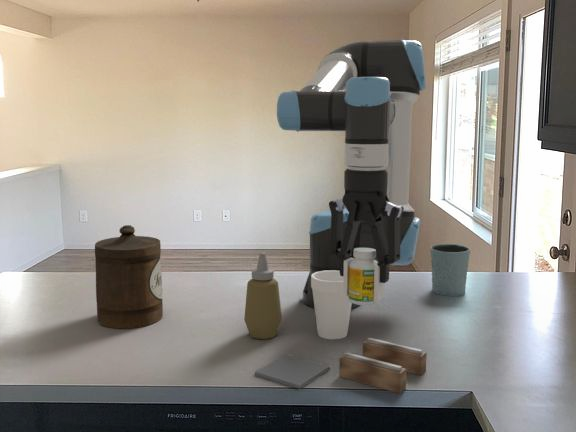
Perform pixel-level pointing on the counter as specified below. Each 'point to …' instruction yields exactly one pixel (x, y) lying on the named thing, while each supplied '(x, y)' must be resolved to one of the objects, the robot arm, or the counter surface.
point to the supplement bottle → (362, 276)
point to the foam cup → (330, 304)
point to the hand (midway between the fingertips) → (363, 296)
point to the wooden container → (128, 280)
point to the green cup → (449, 268)
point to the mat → (292, 371)
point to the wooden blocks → (383, 364)
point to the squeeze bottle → (262, 302)
